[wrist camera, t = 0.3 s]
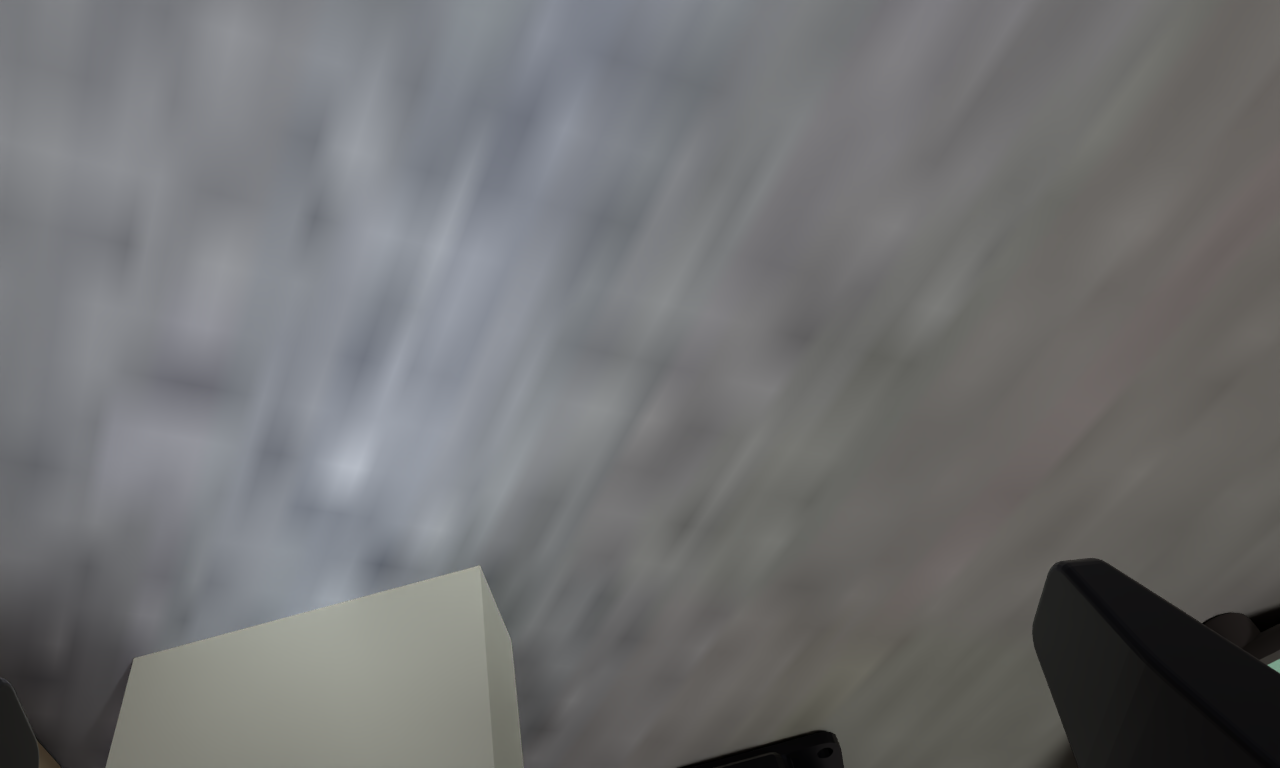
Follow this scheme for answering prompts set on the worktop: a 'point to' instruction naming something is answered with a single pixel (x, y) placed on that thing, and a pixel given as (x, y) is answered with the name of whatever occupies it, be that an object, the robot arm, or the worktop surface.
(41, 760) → the track base
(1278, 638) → the mint green blender
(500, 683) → the door panel
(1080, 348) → the worktop surface
